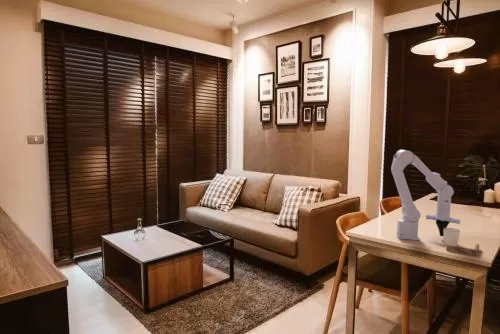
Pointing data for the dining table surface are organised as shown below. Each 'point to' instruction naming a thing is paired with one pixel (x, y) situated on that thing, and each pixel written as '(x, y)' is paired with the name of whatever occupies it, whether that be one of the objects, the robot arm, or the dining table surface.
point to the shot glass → (451, 236)
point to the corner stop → (463, 250)
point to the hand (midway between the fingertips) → (441, 235)
